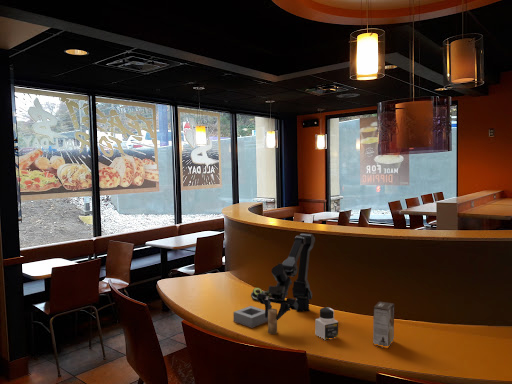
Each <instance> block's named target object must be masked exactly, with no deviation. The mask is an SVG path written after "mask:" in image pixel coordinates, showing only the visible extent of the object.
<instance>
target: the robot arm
mask: <svg viewBox="0 0 512 384" xmlns="http://www.w3.org/2000/svg"><path fill="white" fill-rule="evenodd" d="M315 243H316V237H315V236H314V234H312V233H302V232H301V233H300V234H299V235H296V236H295V237H294V242H293V244H292V247H291V250H290V251H289V254H288V256H287V258H286V259H285V260H283V262H282V263H281V262H280V263H278V264H277V265H275V266H273V267H272V269H271V274H272V276H273V278H274V279H275V281H276V285H274V286H273V285H269V286H268V290H267V291H268V293H270V295H271V296H272V298H270V297H268V296H267V294H263V293H259V294H258V295H257V299H258V300H259V301H258V302H259V303H260V304H261V305H264V310H265V318H267V317H268V310H269V309H273V308H272V305H271V304H273V303H274V304H279V305H280V307H279V309H278V311H277V318H276V320H277V321H279V320H280V318H282V317H283V315H285V314H286V313H288V311H291V310H293V311H296V312H311V311H310V300H312V299H313V292H312V290H311V289H310V283H309V280H308V275H309V274H308V271H309V264H310V263H309V262H310V253H311V251H312V249H313V248H314V246H315ZM298 261H299V264H298ZM295 276H297V278H296V280H294V281H293V283H292V279H291V277H295ZM291 285H293V286H292V288H291V289H292V290H291V291H292V297H293V298H291V297H287V296H288V295H289V293H288V291H289V288H290V286H291Z"/></svg>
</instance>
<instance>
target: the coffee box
mask: <svg viewBox="0 0 512 384" xmlns="http://www.w3.org/2000/svg"><path fill="white" fill-rule="evenodd" d="M372 321H373V324H372V325H373V327H372V328H373V329H372V330H373V331H372V332H373V333H372V336H373V337H372V340H373V343H374V344H378V345H383V346H389V345H390V344H391V342H392V341H393V339H394V340H395V338H394V337H395V335H394V334H395V303H392V302H386V301H385V302H384V301H378V302H377V303H376V304H375V305H374V306H373V320H372ZM393 342H394V341H393ZM373 343H372V344H373ZM391 345H392V344H391Z"/></svg>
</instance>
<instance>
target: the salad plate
mask: <svg viewBox="0 0 512 384" xmlns="http://www.w3.org/2000/svg"><path fill="white" fill-rule="evenodd" d="M259 293H263V294H267V296H268V297H270V298H272V296H271V295H270V293H268V290H262V289H261V288H260V287H255V288H253V290H252V292H251V293H250V296H251V299H252V300H253V301H254V302H259V300H258V299H257V295H258V294H259Z"/></svg>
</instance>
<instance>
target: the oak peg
mask: <svg viewBox="0 0 512 384" xmlns="http://www.w3.org/2000/svg"><path fill="white" fill-rule="evenodd" d="M277 314H278V309H277V308H271V309H269V310H268V321H267V333H268V334H269V335H276V334H277V333H278V320H276V318H277Z"/></svg>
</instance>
